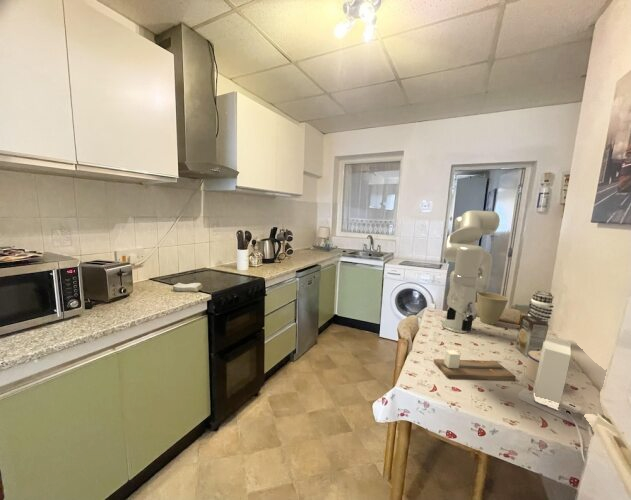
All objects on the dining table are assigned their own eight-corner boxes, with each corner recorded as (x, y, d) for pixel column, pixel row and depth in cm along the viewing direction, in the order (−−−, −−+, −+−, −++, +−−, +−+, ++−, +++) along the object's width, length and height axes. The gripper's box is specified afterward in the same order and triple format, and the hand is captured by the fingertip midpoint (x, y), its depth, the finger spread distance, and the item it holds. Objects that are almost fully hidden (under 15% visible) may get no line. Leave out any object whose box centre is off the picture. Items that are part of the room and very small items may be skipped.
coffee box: (514, 347, 123) (520, 314, 121) (529, 349, 122) (536, 316, 119) (525, 357, 114) (532, 322, 112) (542, 359, 113) (549, 324, 111)
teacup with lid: (556, 391, 92) (563, 360, 90) (524, 379, 97) (529, 350, 96) (552, 375, 102) (558, 347, 100) (522, 366, 107) (528, 339, 105)
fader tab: (444, 363, 101) (445, 350, 101) (453, 363, 102) (455, 350, 101) (448, 367, 99) (450, 354, 98) (458, 368, 99) (460, 354, 98)
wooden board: (433, 362, 105) (434, 358, 105) (495, 364, 107) (496, 360, 106) (447, 378, 95) (448, 374, 95) (515, 380, 97) (516, 376, 97)
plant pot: (509, 328, 145) (514, 300, 142) (483, 327, 144) (488, 299, 142) (491, 317, 159) (495, 292, 157) (467, 316, 159) (471, 291, 157)
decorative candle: (536, 335, 137) (545, 289, 134) (551, 344, 128) (561, 295, 124) (518, 334, 137) (527, 288, 134) (532, 343, 128) (541, 294, 125)
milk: (532, 393, 90) (544, 332, 87) (556, 401, 87) (569, 338, 84) (534, 402, 85) (546, 338, 82) (559, 411, 82) (573, 345, 79)
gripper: (442, 274, 104) (436, 315, 106) (469, 286, 87) (462, 335, 89) (460, 275, 104) (454, 316, 106) (491, 287, 87) (483, 336, 89)
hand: (457, 324), depth 98 cm, fingers open, 9 cm apart
